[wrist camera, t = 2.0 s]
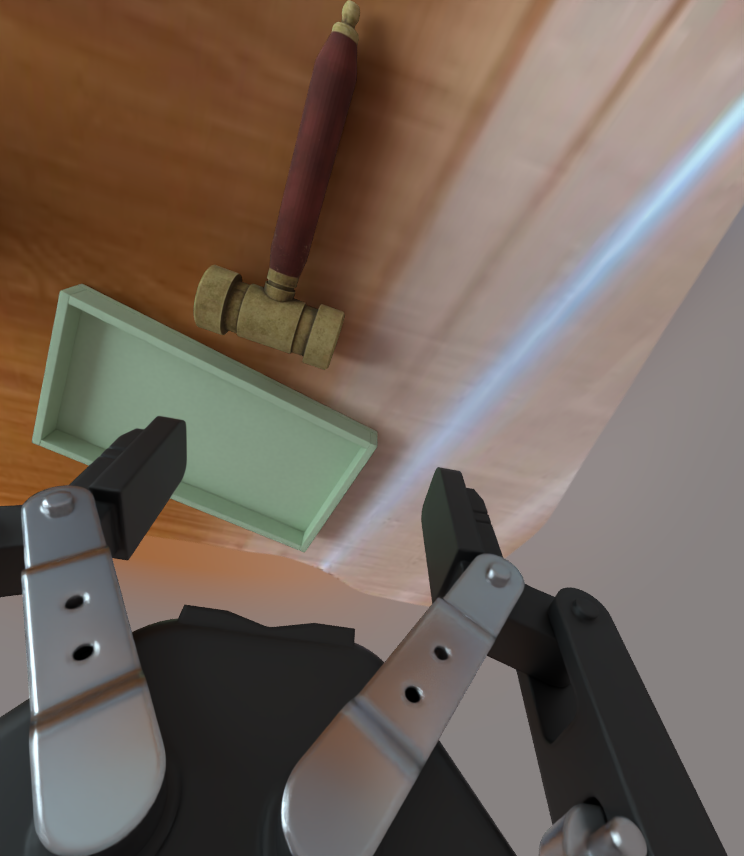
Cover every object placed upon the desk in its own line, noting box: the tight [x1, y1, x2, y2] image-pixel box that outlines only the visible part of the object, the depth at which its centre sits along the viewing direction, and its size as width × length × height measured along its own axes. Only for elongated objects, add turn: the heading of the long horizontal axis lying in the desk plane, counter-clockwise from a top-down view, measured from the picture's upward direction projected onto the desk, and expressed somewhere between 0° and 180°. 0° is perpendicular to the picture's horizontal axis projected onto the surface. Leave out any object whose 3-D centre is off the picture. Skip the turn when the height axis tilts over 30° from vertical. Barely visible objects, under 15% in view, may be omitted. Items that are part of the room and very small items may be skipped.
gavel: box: [194, 1, 360, 370], centre depth 28 cm, size 21×5×10 cm
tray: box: [32, 284, 377, 552], centre depth 37 cm, size 26×15×3 cm, turn 60°
